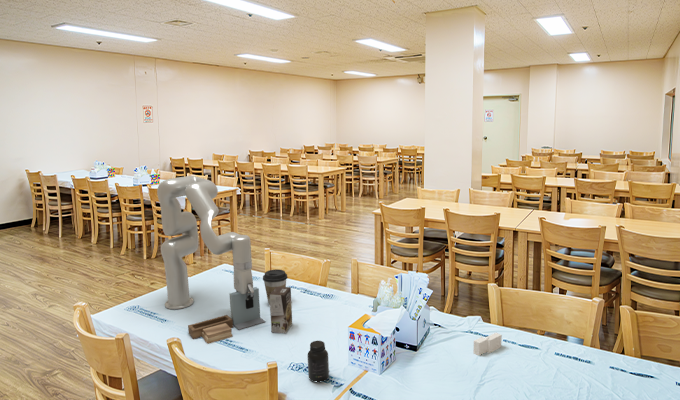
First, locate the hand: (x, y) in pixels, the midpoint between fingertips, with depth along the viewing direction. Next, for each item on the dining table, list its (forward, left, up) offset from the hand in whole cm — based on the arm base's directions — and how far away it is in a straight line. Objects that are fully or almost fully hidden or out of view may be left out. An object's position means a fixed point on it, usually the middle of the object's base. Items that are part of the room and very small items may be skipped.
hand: (245, 304), depth 197 cm
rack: (-1, -15, -8) cm, 17 cm away
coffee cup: (-9, +19, -8) cm, 22 cm away
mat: (0, 0, -8) cm, 8 cm away
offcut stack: (+6, -15, -8) cm, 18 cm away
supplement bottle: (+55, +1, -8) cm, 56 cm away
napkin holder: (+77, +59, -8) cm, 97 cm away
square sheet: (0, 0, -7) cm, 7 cm away
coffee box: (+15, +9, -8) cm, 19 cm away
